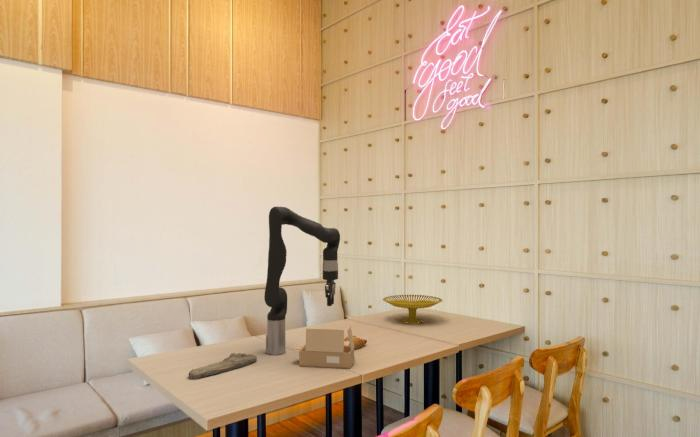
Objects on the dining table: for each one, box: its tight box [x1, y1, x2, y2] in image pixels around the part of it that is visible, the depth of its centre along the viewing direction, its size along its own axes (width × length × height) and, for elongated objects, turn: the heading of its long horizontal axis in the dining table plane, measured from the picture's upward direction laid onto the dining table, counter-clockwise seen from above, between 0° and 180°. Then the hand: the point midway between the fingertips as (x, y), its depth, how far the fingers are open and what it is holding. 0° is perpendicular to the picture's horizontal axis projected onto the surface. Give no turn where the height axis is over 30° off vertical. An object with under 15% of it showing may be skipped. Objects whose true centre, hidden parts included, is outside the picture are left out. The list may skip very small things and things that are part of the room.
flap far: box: [347, 325, 354, 351], centre depth 213 cm, size 1×7×10 cm, turn 171°
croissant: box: [344, 335, 368, 351], centre depth 241 cm, size 21×10×8 cm, turn 124°
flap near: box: [305, 328, 345, 352], centre depth 210 cm, size 1×18×10 cm, turn 80°
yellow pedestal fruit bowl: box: [382, 294, 443, 324], centre depth 306 cm, size 40×40×15 cm
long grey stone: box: [188, 352, 258, 380], centre depth 208 cm, size 35×5×10 cm
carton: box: [292, 341, 355, 370], centre depth 219 cm, size 28×20×7 cm
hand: (330, 304), depth 218 cm, fingers open, 4 cm apart
